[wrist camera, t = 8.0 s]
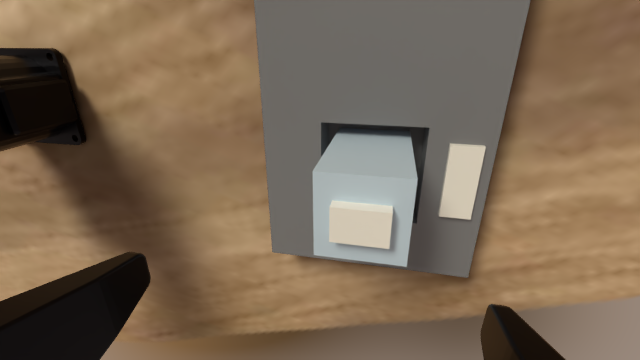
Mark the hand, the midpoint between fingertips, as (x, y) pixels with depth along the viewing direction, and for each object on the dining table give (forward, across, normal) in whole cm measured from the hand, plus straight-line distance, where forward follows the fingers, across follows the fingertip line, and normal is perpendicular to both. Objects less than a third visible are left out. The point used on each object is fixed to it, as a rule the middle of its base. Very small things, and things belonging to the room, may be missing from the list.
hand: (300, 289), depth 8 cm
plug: (+12, -1, +1) cm, 12 cm away
